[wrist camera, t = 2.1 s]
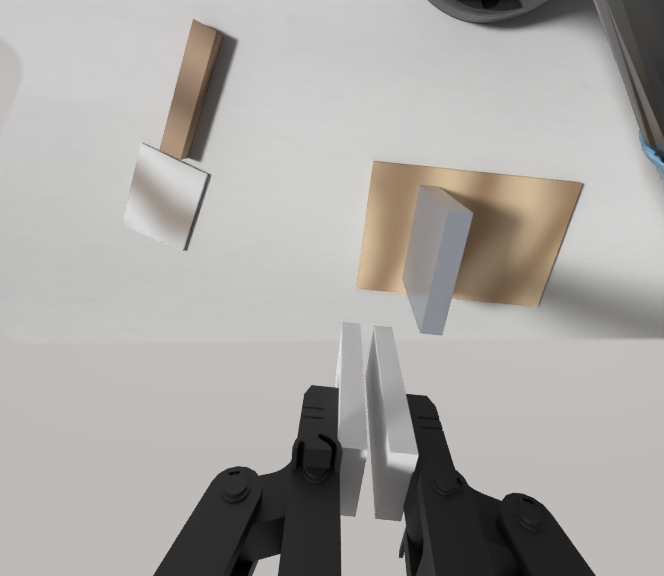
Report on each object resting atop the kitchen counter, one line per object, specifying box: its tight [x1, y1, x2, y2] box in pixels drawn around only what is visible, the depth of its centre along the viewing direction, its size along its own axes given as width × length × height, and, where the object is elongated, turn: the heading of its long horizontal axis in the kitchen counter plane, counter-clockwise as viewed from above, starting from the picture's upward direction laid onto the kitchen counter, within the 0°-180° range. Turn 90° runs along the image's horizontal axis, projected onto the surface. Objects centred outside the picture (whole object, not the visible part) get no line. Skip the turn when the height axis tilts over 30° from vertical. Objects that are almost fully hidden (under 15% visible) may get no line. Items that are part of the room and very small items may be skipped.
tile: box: [402, 185, 473, 335], centre depth 30 cm, size 2×9×10 cm, turn 175°
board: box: [357, 161, 583, 307], centre depth 34 cm, size 18×12×1 cm, turn 85°
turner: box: [122, 19, 223, 251], centre depth 32 cm, size 18×6×2 cm, turn 155°
